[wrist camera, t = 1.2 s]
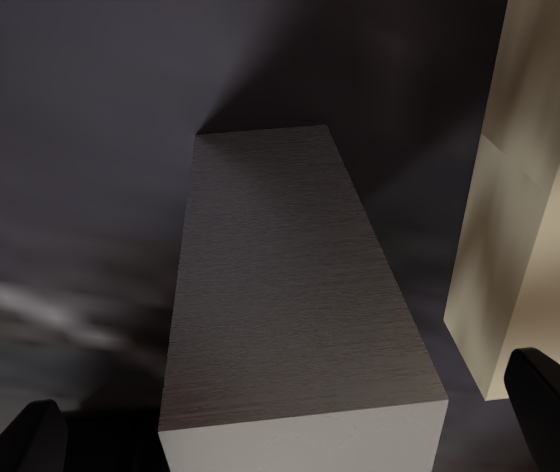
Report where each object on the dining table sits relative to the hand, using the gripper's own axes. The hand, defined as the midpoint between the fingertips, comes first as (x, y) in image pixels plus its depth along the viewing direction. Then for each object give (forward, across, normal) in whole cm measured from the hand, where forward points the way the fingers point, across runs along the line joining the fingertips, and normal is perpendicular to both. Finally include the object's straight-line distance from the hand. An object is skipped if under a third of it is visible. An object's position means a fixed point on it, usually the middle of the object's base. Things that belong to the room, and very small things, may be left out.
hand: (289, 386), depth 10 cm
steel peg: (+8, 0, 0) cm, 8 cm away
